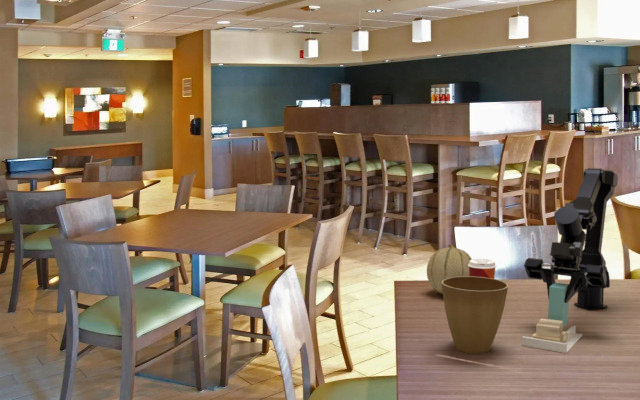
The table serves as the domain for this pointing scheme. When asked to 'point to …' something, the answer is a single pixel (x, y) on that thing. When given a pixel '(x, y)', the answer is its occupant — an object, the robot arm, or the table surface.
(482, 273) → the paper cup
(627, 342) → the table surface
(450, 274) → the cantaloupe
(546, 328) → the offcut upper
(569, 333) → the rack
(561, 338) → the offcut lower
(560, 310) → the teal rectangular block
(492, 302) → the plant pot
